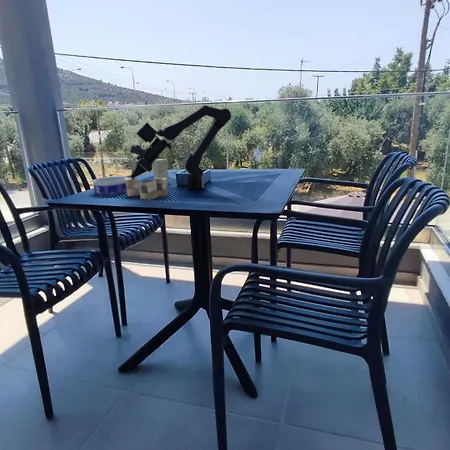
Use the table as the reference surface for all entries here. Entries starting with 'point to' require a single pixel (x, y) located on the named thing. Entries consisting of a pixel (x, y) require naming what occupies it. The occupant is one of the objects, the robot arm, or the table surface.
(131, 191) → the plain oak block
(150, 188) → the labelled oak block near
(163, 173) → the skincare box
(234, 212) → the table surface
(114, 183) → the dog bowl
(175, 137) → the robot arm
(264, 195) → the table surface
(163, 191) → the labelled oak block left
